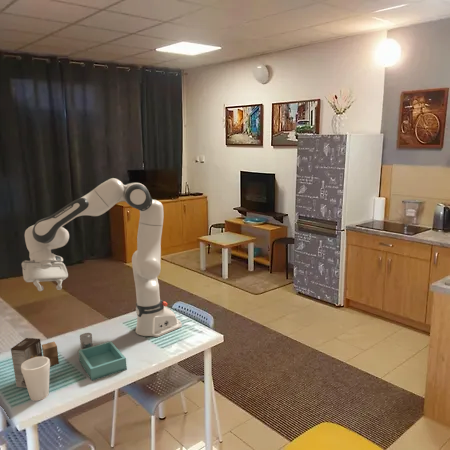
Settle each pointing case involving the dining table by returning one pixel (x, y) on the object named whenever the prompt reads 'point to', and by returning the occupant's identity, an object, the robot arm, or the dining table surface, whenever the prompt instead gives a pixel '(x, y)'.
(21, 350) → the coffee box
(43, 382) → the foam cup
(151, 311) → the robot arm
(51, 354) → the walnut block
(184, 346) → the dining table surface
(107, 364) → the tote
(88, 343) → the grey cylinder
